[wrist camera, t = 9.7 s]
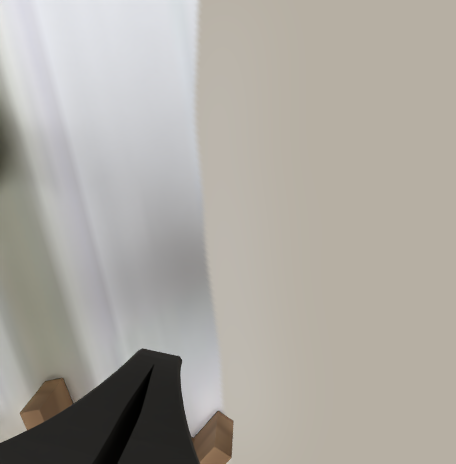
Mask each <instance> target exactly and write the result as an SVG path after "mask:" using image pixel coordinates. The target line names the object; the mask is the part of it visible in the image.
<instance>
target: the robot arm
mask: <svg viewBox="0 0 456 464" xmlns="http://www.w3.org/2000/svg"><path fill="white" fill-rule="evenodd" d="M181 364H182V359H181V358H180V356H175V355H171V354H166V353H161V352H156V351H152V350H147V349H140V350H139V351H137V352H136V353H135V354H134V355H133V356H132V357H131V358H130V359H129V360H128V361H127V362H126V363H125V364H124V365H123V366H122V367H120V368H119V369H118V370H117V371H116V372H115V373H114V374H112V375H111V376H110V377H109V378H107V379H106V380H105V381H104V382H103V383H101V384H100V385H99V386H98V387H96V388H95V389H93V390H92V391H91V392H89V393H88V394H87V395H85V396H84V397H83V398H81V399H80V400H78V401H77V402H75V403H74V404H72V405H71V406H69V407H68V408H66V409H65V410H63V411H61V412H60V413H58V414H56V415H55V416H53V417H52V418H50V419H48V420H46V421H44V422H43V423H41V424H39V425H37V426H35V427H33V428H31V429H29V430H27V431H25V432H23V433H21V434H19V435H17V436H15V437H13V438H11V439H8V440H6V441H4V442H2V443H0V464H200V462H199V459H198V456H197V454H196V451H195V448H194V445H193V442H192V439H191V435H190V432H189V428H188V424H187V420H186V415H185V411H184V405H183V399H182V392H181V379H180V370H181Z"/></svg>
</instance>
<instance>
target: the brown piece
mask: <svg viewBox="0 0 456 464" xmlns="http://www.w3.org/2000/svg"><path fill="white" fill-rule="evenodd" d="M72 404H73V403H72V400H71V398H70V395H69V393H68V390H67V388H66V385H65V383H64V380H63V378H61V379H56V380H50V381H45V382H44V384H43V385H42V386H41V387H40V389H39V390H38V391H37V392H36V394H35V395H34V396H33V397H32V398H31V400H30V401H29V402H28V403H27V405H26V406H25V407H24V408H23V410H22V411H21V412H20V415H21V417H22V420H23V422H24V424H25V426H26V429H27V430H29V429H31V428H33V427H35V426H37V425H39V424H41V423H43V422H44V421H46V420H48V419H50V418H52V417H53V416H55V415H56V414H58V413H60V412H61V411H63V410H65V409H66V408H68V407H69V406H71V405H72ZM232 438H233V420H231V419H229V418H228V417H227V416H225V415H224V414H222V413H221V412H219V411H218V412H217V413H216V414H215V415H214V416H213V417H212V418H211V419H210V421H209V422H208V423H207V424H206V425H205V426H204V427H203V428H202V430H201V431H200V432H199V433H198V434H197V435H196V436H195V438H191V439H192V442H193V445H194V448H195V451H196V454H197V456H198V459H199V462H200V464H226V463H227V462H228V461H229V460H230V459H231V457H232Z"/></svg>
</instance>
